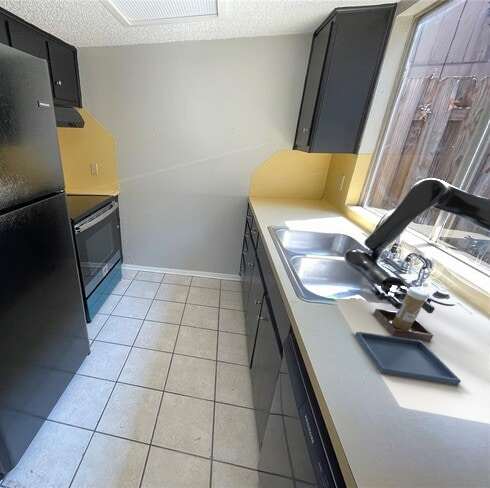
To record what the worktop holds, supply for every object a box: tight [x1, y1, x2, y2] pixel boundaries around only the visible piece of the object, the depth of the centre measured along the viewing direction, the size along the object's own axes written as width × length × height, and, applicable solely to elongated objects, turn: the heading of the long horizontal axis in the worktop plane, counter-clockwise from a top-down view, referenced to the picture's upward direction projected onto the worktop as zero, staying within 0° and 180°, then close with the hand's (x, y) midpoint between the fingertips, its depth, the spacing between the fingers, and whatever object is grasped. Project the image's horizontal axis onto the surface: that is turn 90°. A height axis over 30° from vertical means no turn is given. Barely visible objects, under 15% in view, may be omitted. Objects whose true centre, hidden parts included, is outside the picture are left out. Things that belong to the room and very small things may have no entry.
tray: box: [354, 331, 462, 386], centre depth 70 cm, size 17×13×2 cm
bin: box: [372, 308, 434, 343], centre depth 81 cm, size 10×10×3 cm
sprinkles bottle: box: [392, 286, 430, 331], centre depth 78 cm, size 5×5×14 cm
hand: (415, 308), depth 76 cm, fingers open, 8 cm apart
